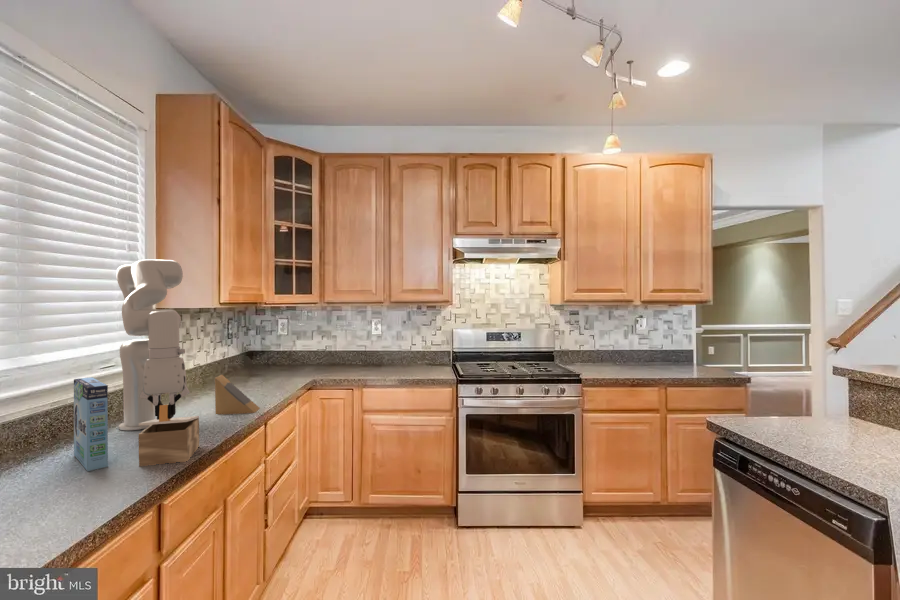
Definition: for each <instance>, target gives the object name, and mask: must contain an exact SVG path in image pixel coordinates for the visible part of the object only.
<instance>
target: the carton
mask: <svg viewBox="0 0 900 600" xmlns="http://www.w3.org/2000/svg"><path fill="white" fill-rule="evenodd" d="M137 437H138V467H145V466H146V467H147V466H148V465H149V466H156V464H159V465H166V464H165V463H169V464H176V462H180V463H187V462H188V461H189V460H190V459H191V458H192V457H193V455H194V454H195V453H196V451H197V450H198V449H199V448H200V417H199V418H197V419H194V420H191V421H188V422H179V423H166V424H153V425H150V426H148V427H147V428H146V429H142V431H140V432H139V433H138V435H137ZM198 447H199V448H198ZM194 452H195V453H194ZM190 457H191V458H190ZM186 461H187V462H186Z"/></svg>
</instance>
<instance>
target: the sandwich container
mask: <svg viewBox="0 0 900 600" xmlns="http://www.w3.org/2000/svg"><path fill="white" fill-rule="evenodd" d="M214 399H215V400H214V401H215V402H214V405H215V415H216V414H218V415H235V414H255V413H257V412H259V410H260V409H261V408H260V406H259V405H257V404H256V403H255V402H254V401H252V399H250V398H249V397H248V396H247V395H246V394H244V392H242V391H241V390H240V389H239V388H238V387H236V386H235V385H234V384H233V383H232V382H231V381H230V380H229V379H228V378H226V376H225V375H224V374H219V375H217V376H216V377H214Z"/></svg>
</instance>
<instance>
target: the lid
mask: <svg viewBox="0 0 900 600" xmlns="http://www.w3.org/2000/svg"><path fill="white" fill-rule="evenodd" d="M168 405H169V404H163V405H160V409H159V420H157V418H155V419H154V420H150V421H146V422H142V423H139V425H153V424H166V423H179V422H188V421H191V420H194V419H197V418H199V419H200V415H195V416H194V415H193V416H182V417H181V416H179V417H172V418H171V419H168Z"/></svg>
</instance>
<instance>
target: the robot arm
mask: <svg viewBox="0 0 900 600" xmlns="http://www.w3.org/2000/svg"><path fill="white" fill-rule="evenodd" d="M115 274H116V280H117V281H116V282H117V284H118V287H119V289H120V291H121V293H122V296H123V304H122V306H121V316H122V317H121V318H122V324H123V328H124V331H125V333H126V334H127V335H128V336H130V337H148V338H140V339H139V338H138V339H131V340H127V341H124V342H123V343H122V344H121V345H120V346H119V358H120V362H121V369H122V387H123V388H122V390H123V391H122V392H123V422H122V423H120V424H119V425H118V429H119V431H139V430H144V429H146V428H147V427H148V426H150V425H139V423H142V422H146V421H150V420H154V419H157V420H159V409H160V405H164V404H163V402H162V395H169V396H168V397H169V402H168V404H167V405H168V419H171V418H174V416H175V415H176V412H177V411H176V410H177V409H176V403H177V402H179V400H180V399H181V398H183V397H186V396H188V395H189V394H190V390H189V388H188V385H187V372H186V365H185V360H184V357H183V356H182V357H181V355H183V354H186V349H185V348H181V346H180V328H181V323H182V320H181V315H180V314H179V313H178V311H176V310H175V309H165V308H164V309H162V308H161V309H154V307H153V306H154V305H157V304H160V303H161V302H162V301H163V300H164V299H165V298H166V297H167V295H168V289H169V290H171V289H173V288H176V287H177V286H180V285H181V282H182V281H183V279H184V278H183V277H184V275H183V268H182V266H181V264H180V263H179V262H178V261H176V260H173V259H151V258H150V259H149V258H147V259H140V260H137V261H135V262H134V263H132V264H123V265H120V266H118V267H117V269H116V273H115Z"/></svg>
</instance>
